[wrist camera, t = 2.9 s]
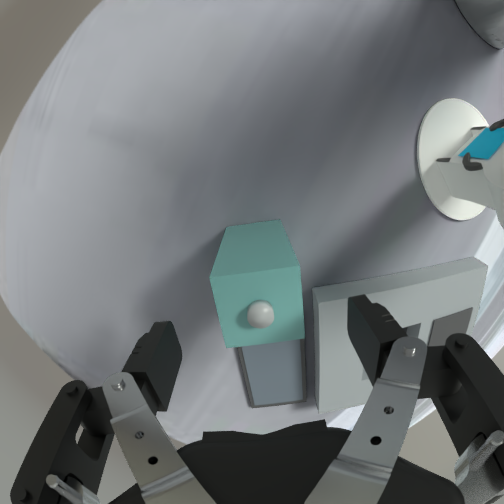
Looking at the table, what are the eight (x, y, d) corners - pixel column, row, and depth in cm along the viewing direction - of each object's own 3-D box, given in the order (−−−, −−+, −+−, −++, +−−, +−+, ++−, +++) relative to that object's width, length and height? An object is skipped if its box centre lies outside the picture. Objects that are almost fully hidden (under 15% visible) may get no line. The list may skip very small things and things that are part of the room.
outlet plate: (312, 287, 22) (319, 304, 20) (473, 256, 22) (489, 266, 19) (314, 397, 27) (319, 415, 24) (448, 359, 26) (458, 372, 24)
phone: (251, 401, 28) (251, 408, 27) (232, 315, 24) (231, 322, 23) (305, 395, 28) (306, 402, 27) (300, 306, 24) (302, 313, 23)
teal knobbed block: (226, 226, 21) (207, 283, 12) (280, 219, 21) (302, 271, 11) (235, 275, 22) (225, 355, 13) (285, 268, 22) (306, 345, 13)
